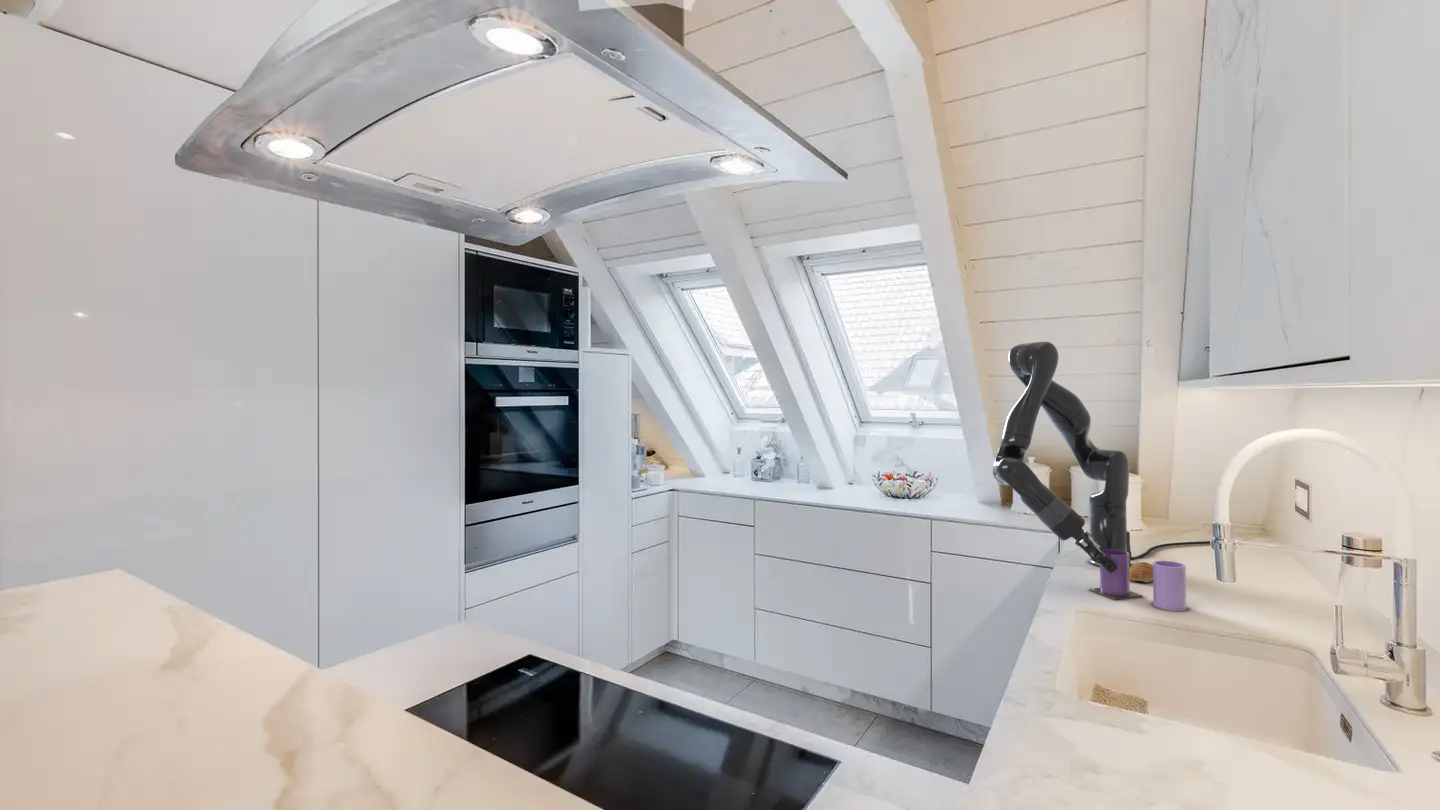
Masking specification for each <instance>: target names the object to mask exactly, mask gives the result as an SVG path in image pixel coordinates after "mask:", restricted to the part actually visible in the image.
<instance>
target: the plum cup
mask: <svg viewBox="0 0 1440 810" xmlns="http://www.w3.org/2000/svg"><path fill="white" fill-rule="evenodd" d="M1101 551H1102V552H1103V553H1104V554H1105V555H1106V557H1107V558H1109V559H1110V560H1111V561H1112V562H1113V563H1114V564H1115V565H1116V566H1117V569H1116V570H1115V571H1113V572H1112V573H1110V572H1109V571H1108V570H1107V569H1105V568H1104V567H1103V566H1102V565H1101V564H1100V566H1099V586H1100V587H1099V588H1100V589H1101V592H1103V593H1105V594H1109V595H1115V596H1127V595H1129V594H1130V591H1131V589H1130V588H1131V587H1130V585H1131V584H1130V581H1131V580H1130V578H1129V568H1130V565H1129V553H1128V552H1126V551H1122V550H1115V549H1103V550H1101Z"/></svg>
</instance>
